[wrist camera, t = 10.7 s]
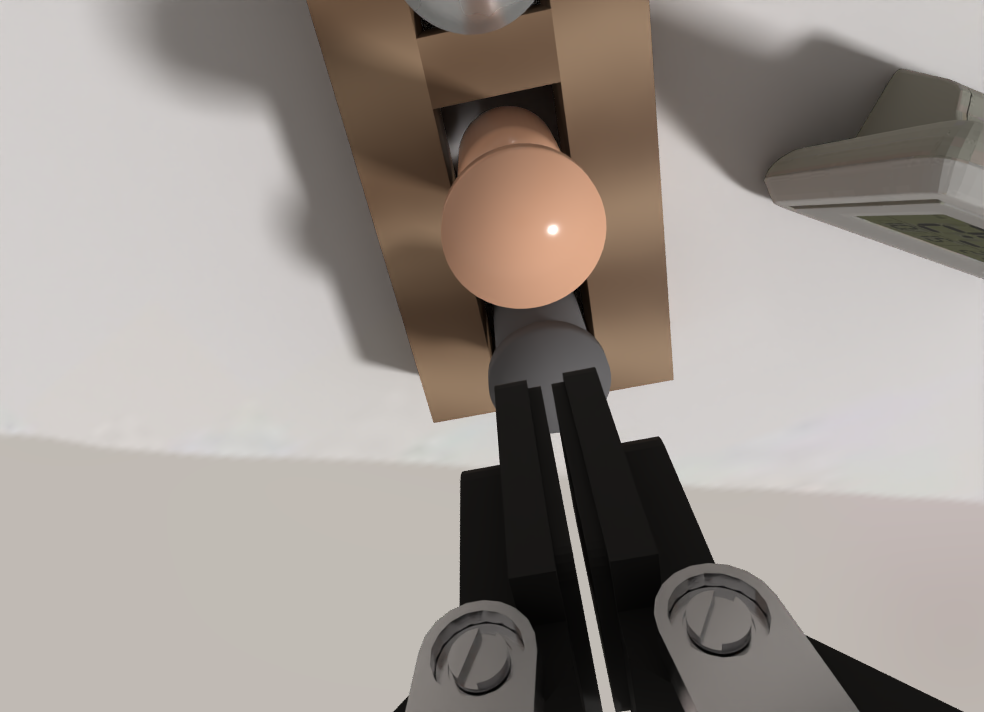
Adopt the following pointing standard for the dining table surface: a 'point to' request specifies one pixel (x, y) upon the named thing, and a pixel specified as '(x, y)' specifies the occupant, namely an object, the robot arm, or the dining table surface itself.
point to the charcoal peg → (544, 349)
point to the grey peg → (469, 14)
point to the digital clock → (901, 173)
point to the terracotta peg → (520, 213)
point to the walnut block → (430, 174)
